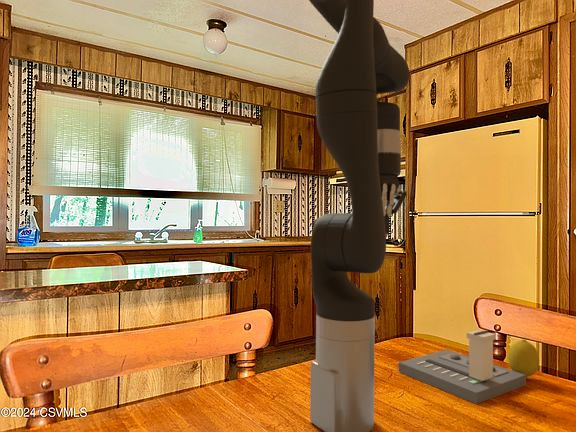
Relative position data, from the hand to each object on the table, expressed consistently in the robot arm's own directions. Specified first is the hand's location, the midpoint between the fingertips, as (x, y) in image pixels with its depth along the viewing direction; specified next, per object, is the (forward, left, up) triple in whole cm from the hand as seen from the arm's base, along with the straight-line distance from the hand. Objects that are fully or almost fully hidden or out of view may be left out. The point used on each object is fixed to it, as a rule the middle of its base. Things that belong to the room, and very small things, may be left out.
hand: (382, 234), depth 91 cm
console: (+10, -12, -29) cm, 33 cm away
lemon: (+21, -19, -29) cm, 41 cm away
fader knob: (+8, -18, -26) cm, 33 cm away
